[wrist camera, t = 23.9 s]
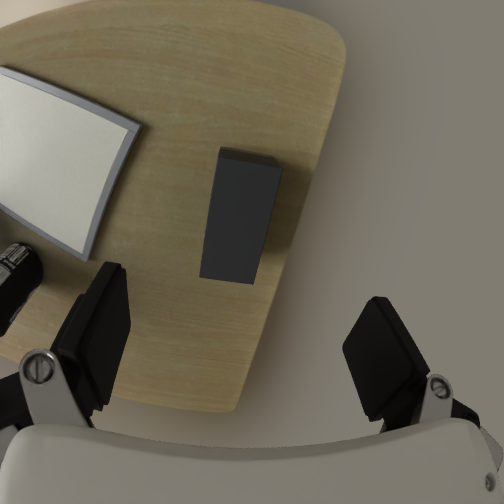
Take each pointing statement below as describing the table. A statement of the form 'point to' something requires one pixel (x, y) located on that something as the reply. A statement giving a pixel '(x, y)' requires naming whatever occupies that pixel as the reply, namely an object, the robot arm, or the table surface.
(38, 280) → the beverage can
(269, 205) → the whiteboard eraser
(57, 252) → the table surface
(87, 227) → the whiteboard
